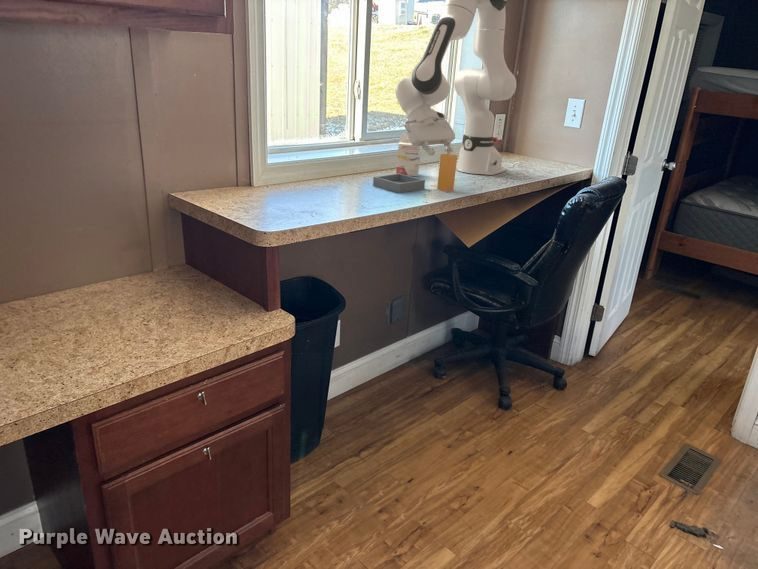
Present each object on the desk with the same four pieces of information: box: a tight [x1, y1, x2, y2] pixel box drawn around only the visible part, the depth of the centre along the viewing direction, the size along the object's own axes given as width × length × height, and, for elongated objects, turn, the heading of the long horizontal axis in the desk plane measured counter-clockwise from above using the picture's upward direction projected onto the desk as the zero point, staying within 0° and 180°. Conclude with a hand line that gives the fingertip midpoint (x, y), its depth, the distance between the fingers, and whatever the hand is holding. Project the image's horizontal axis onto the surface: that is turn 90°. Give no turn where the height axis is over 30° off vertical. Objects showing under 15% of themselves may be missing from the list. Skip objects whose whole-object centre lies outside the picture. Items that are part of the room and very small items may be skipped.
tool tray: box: [372, 173, 426, 194], centre depth 193 cm, size 13×13×3 cm
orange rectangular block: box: [437, 152, 458, 192], centre depth 192 cm, size 4×4×12 cm
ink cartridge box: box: [395, 133, 422, 177], centre depth 212 cm, size 9×5×15 cm, turn 84°
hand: (441, 153), depth 191 cm, fingers open, 8 cm apart
